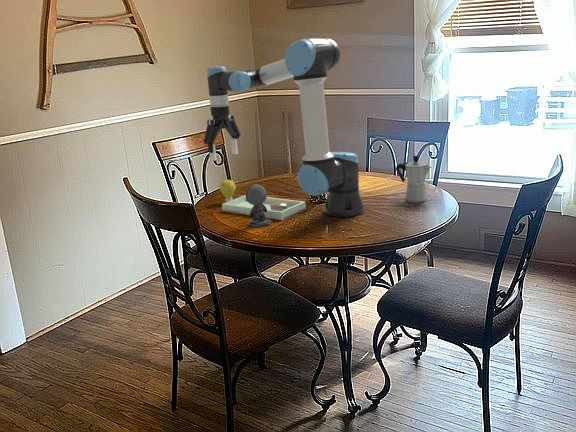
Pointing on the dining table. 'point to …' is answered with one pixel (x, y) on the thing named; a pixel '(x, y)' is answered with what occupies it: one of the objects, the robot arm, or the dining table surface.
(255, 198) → the figurine
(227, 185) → the light bulb
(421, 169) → the coffee maker
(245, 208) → the pale green tray
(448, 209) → the dining table surface
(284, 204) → the tin
